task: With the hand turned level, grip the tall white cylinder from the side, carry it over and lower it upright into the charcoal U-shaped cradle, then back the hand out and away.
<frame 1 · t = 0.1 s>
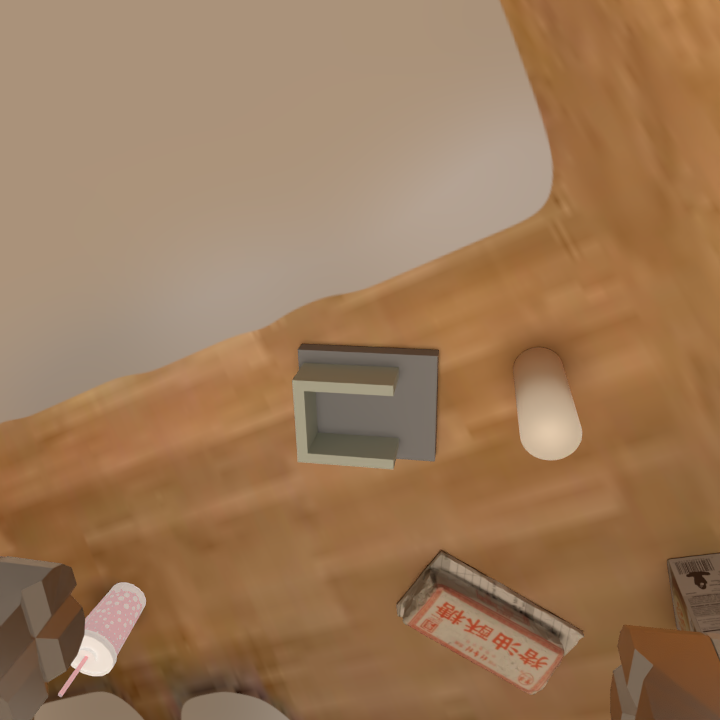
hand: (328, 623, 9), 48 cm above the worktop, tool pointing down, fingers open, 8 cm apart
coffee box: (703, 588, 64), on the worktop
cradle jig: (369, 399, 62), on the worktop
tall white cylinder: (537, 369, 58), on the worktop
beverage cup: (129, 595, 79), on the worktop
packaged product: (486, 613, 70), on the worktop
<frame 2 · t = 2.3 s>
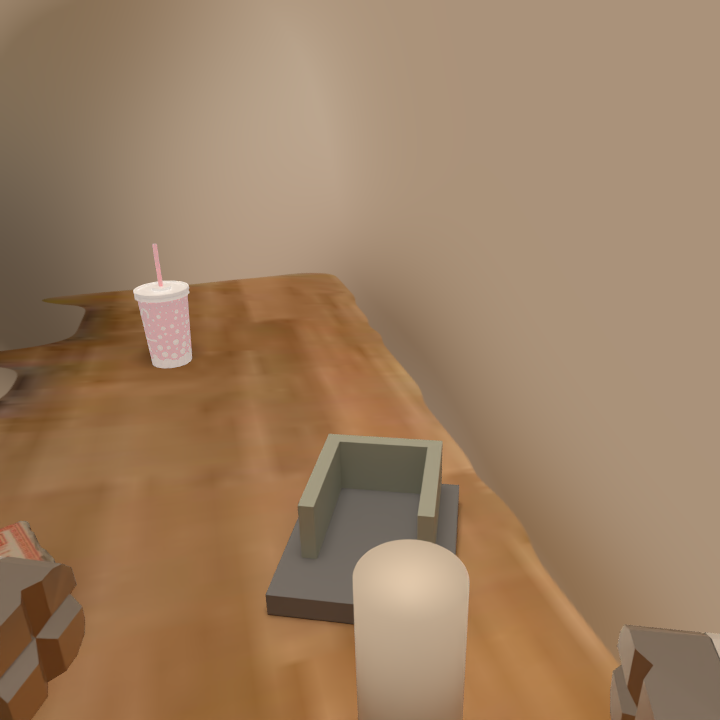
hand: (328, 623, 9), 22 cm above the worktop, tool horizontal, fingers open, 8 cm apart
cradle jig: (373, 551, 44), on the worktop
beverage cup: (172, 362, 76), on the worktop
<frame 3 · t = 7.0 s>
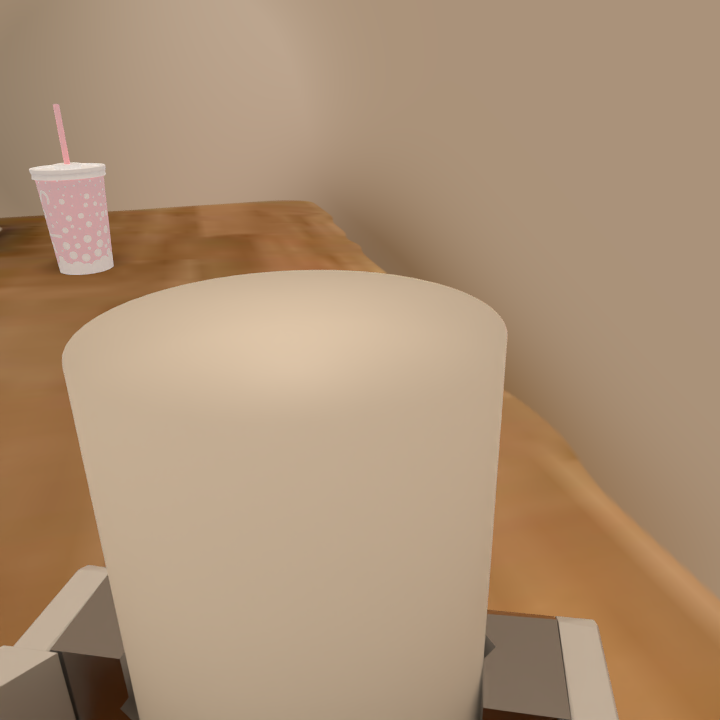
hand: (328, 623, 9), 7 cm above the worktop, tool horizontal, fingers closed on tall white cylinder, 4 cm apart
beverage cup: (87, 270, 59), on the worktop
when the fingers open (10 cm above the worktop, at t = 13.1 s): tall white cylinder drops 1 cm, resting on cradle jig.
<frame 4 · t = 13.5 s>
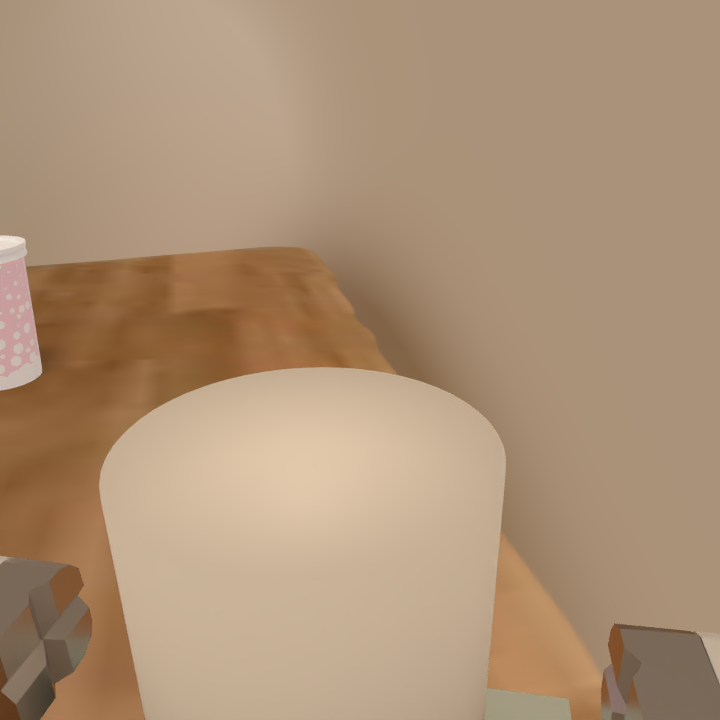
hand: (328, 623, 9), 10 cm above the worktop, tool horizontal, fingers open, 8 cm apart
beverage cup: (6, 379, 43), on the worktop
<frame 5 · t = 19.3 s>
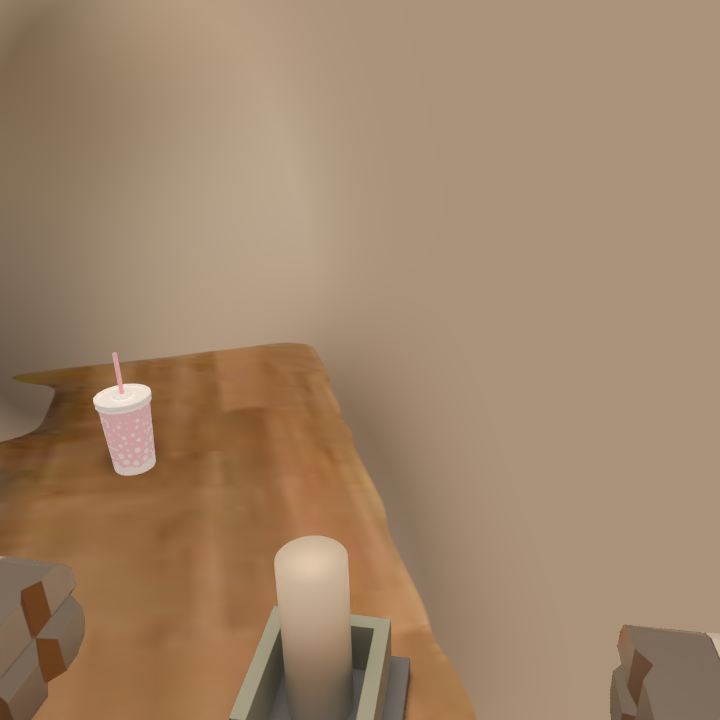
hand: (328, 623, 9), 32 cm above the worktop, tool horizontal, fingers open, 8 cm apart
tall white cylinder: (321, 702, 43), point 1 cm above the worktop, touching cradle jig
beverage cup: (135, 466, 74), on the worktop
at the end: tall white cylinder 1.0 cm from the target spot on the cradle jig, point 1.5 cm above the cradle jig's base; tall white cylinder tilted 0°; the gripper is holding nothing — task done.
